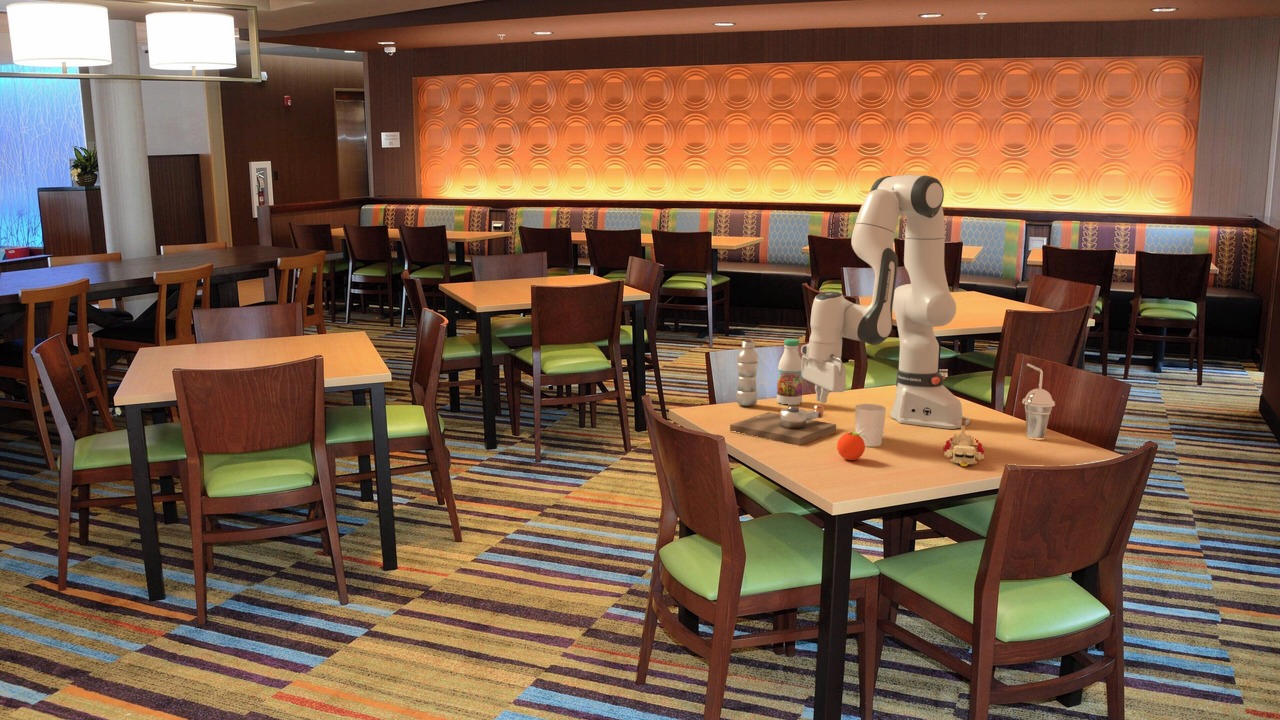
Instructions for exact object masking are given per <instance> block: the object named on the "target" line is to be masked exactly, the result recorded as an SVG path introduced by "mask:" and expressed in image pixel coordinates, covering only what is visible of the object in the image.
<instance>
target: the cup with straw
mask: <svg viewBox="0 0 1280 720" xmlns="http://www.w3.org/2000/svg"><path fill="white" fill-rule="evenodd" d="M1026 366H1027V367H1030V368H1031V369H1033V370H1036V371H1038V372H1039V383H1038V388H1034V389H1031V390H1030V391H1028V393H1027V394H1026V396H1025V397H1024V398H1023V399H1022V401H1021V403H1022V404H1023V405H1024V409H1025V411H1024V412H1025V424H1026V426H1025V427H1026V428H1025V429H1026V431H1025V432H1026V437H1027V436H1028V437H1032V438H1044V439H1045V436H1046V435H1047V434H1046V433H1047V429H1048V428H1047V427H1048V424H1049V418H1050V415H1051V412H1052V409H1053V408H1052V407H1055V406H1056V403H1055V401H1054V399H1053V398H1052V395H1051V394H1050V391H1047V390H1046V389H1043V388H1042V387H1043V378H1044V377H1043V376H1044V372H1043V370H1042V369H1041V368H1039V367H1037V366H1035V365H1033V364H1031V363H1026Z"/></svg>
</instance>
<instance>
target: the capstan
mask: <svg viewBox="0 0 1280 720" xmlns="http://www.w3.org/2000/svg"><path fill="white" fill-rule="evenodd" d="M779 414H780V425H781V426H782V427H786V428H803V427H805V426H806V421H807V420H815V419H822V418H824V405H823V404H815V405H814V407H813V410H808V411H807V410H805V409H802V408H800V407H799V406H797V405H789V406H788V407H786V408H782V409H780V412H779Z"/></svg>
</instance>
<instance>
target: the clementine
mask: <svg viewBox="0 0 1280 720" xmlns="http://www.w3.org/2000/svg"><path fill="white" fill-rule="evenodd" d="M859 435H861V434H858V433H856V432H846V433H844V434H842V435H841V436H840V437H839V439H838V441H837V444H836V449H837V452H838V454H839V456H840V457H841V458H843V459H845V460H847V461H855V460H858V459H860V458H861V457H862V456H863V455H864V452H865V450H866V446H865V443H864V441H863V439H862V437H860V436H859ZM862 436H863V435H862ZM864 437H865V436H864ZM867 440H868V439H867ZM868 442H869V441H868Z"/></svg>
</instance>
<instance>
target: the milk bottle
mask: <svg viewBox="0 0 1280 720" xmlns="http://www.w3.org/2000/svg"><path fill="white" fill-rule="evenodd" d="M783 347H784V350H783V354H782V356H781V357H780V359H779V362H778V367H777V387H776V402H777V404H779V403H781V404H780V405H783V404H788V405H787V406H796V405H795V404H799V405H801V404H802V402H803V385H804V379H803V377H802V374H801V363H802V357H801V355H800V352H799V347H800V340H799V339H796V338H786V339H784V341H783ZM800 403H801V404H800Z"/></svg>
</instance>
